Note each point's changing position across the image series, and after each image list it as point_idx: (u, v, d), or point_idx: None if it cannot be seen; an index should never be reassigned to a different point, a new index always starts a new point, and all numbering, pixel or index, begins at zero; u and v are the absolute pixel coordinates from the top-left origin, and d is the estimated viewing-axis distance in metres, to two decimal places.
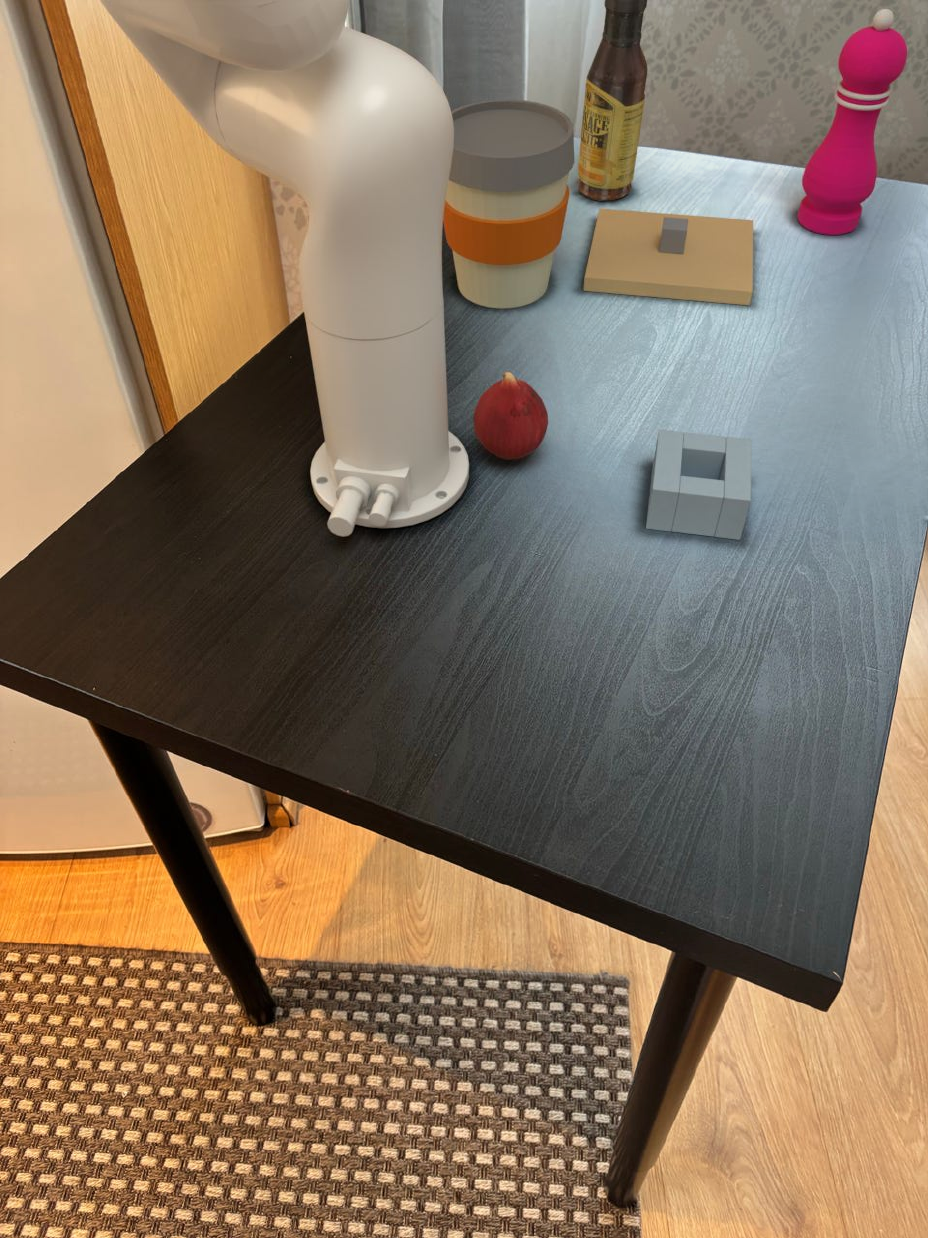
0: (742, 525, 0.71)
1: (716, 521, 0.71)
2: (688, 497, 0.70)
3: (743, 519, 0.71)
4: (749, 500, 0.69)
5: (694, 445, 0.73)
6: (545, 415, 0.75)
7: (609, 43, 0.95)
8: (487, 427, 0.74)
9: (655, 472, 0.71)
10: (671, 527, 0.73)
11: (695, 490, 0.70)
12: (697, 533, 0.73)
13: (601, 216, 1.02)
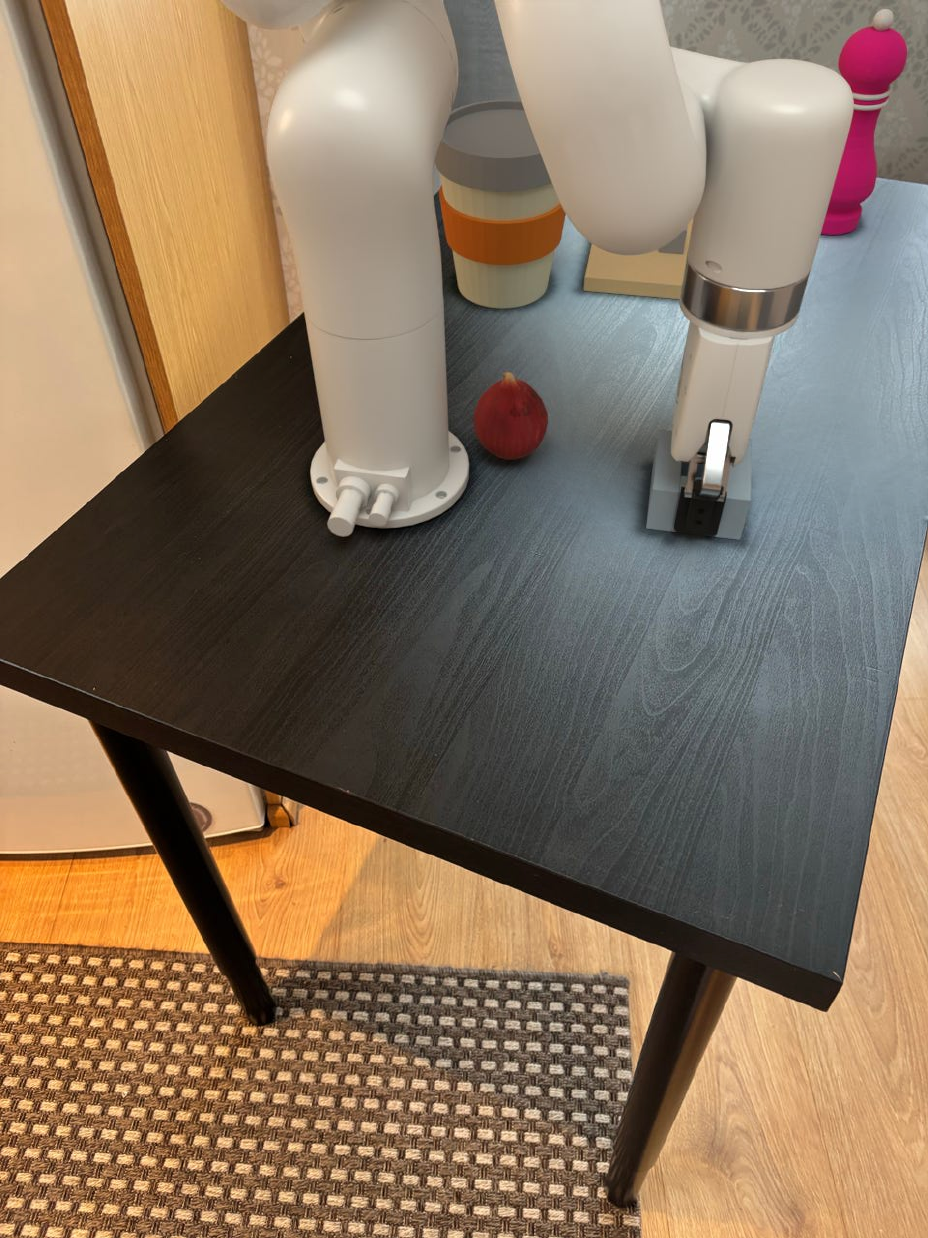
0: (742, 525, 0.71)
1: None
2: None
3: (743, 519, 0.71)
4: (749, 500, 0.69)
5: None
6: (545, 415, 0.75)
7: None
8: (487, 427, 0.74)
9: (655, 472, 0.71)
10: (672, 527, 0.73)
11: None
12: None
13: None
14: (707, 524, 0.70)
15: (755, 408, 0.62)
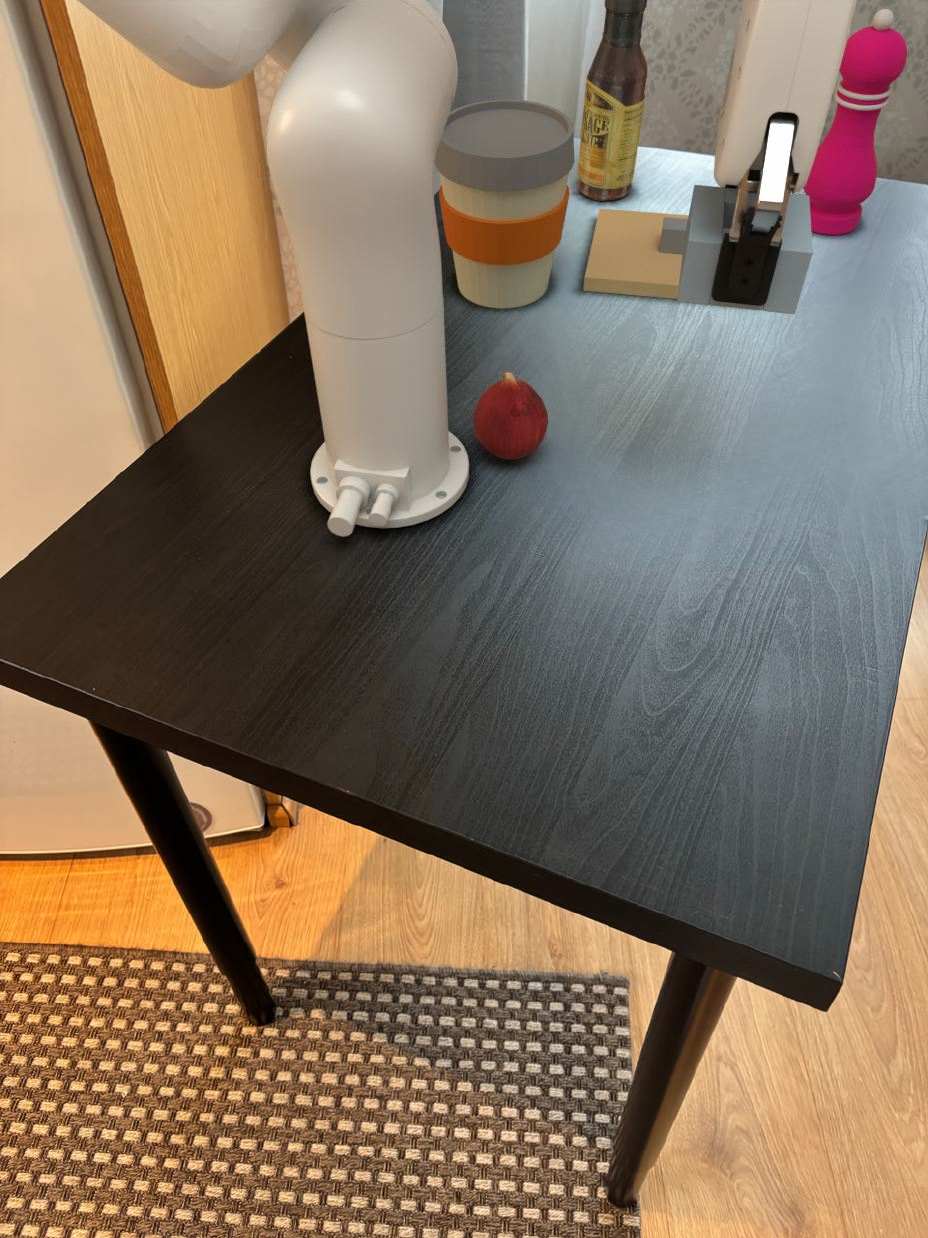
0: (799, 291, 0.57)
1: None
2: None
3: (801, 282, 0.56)
4: (810, 252, 0.55)
5: None
6: (545, 415, 0.75)
7: (609, 43, 0.95)
8: (487, 427, 0.74)
9: (691, 224, 0.57)
10: (709, 299, 0.58)
11: None
12: (740, 307, 0.58)
13: (601, 216, 1.02)
14: (755, 283, 0.56)
15: (829, 95, 0.48)
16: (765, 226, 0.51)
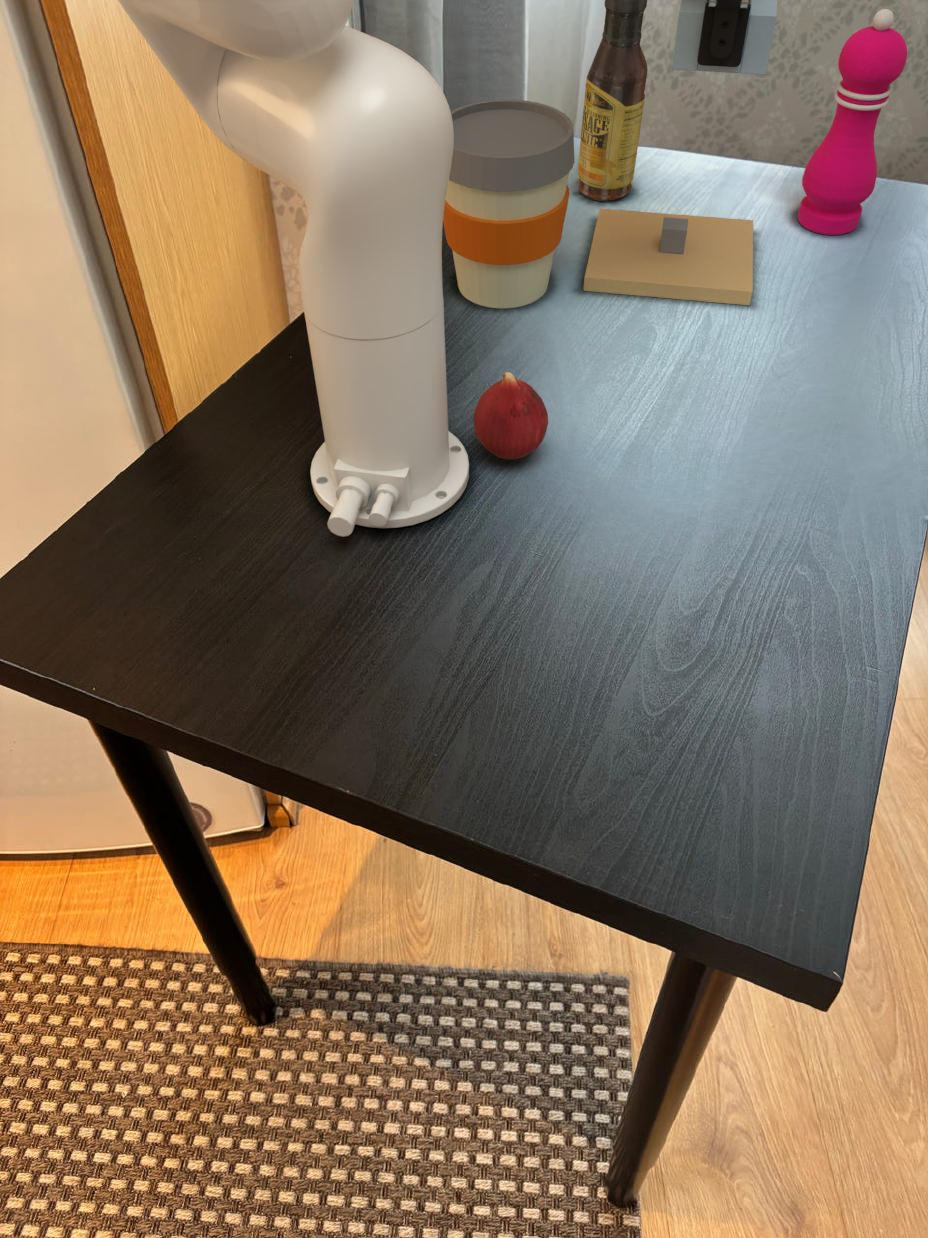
0: (767, 53, 0.72)
1: None
2: None
3: (769, 44, 0.71)
4: (775, 16, 0.70)
5: None
6: (545, 415, 0.75)
7: (609, 43, 0.95)
8: (487, 427, 0.74)
9: (681, 2, 0.72)
10: (697, 65, 0.73)
11: None
12: (722, 71, 0.73)
13: (601, 216, 1.02)
14: (731, 44, 0.71)
15: None
16: None
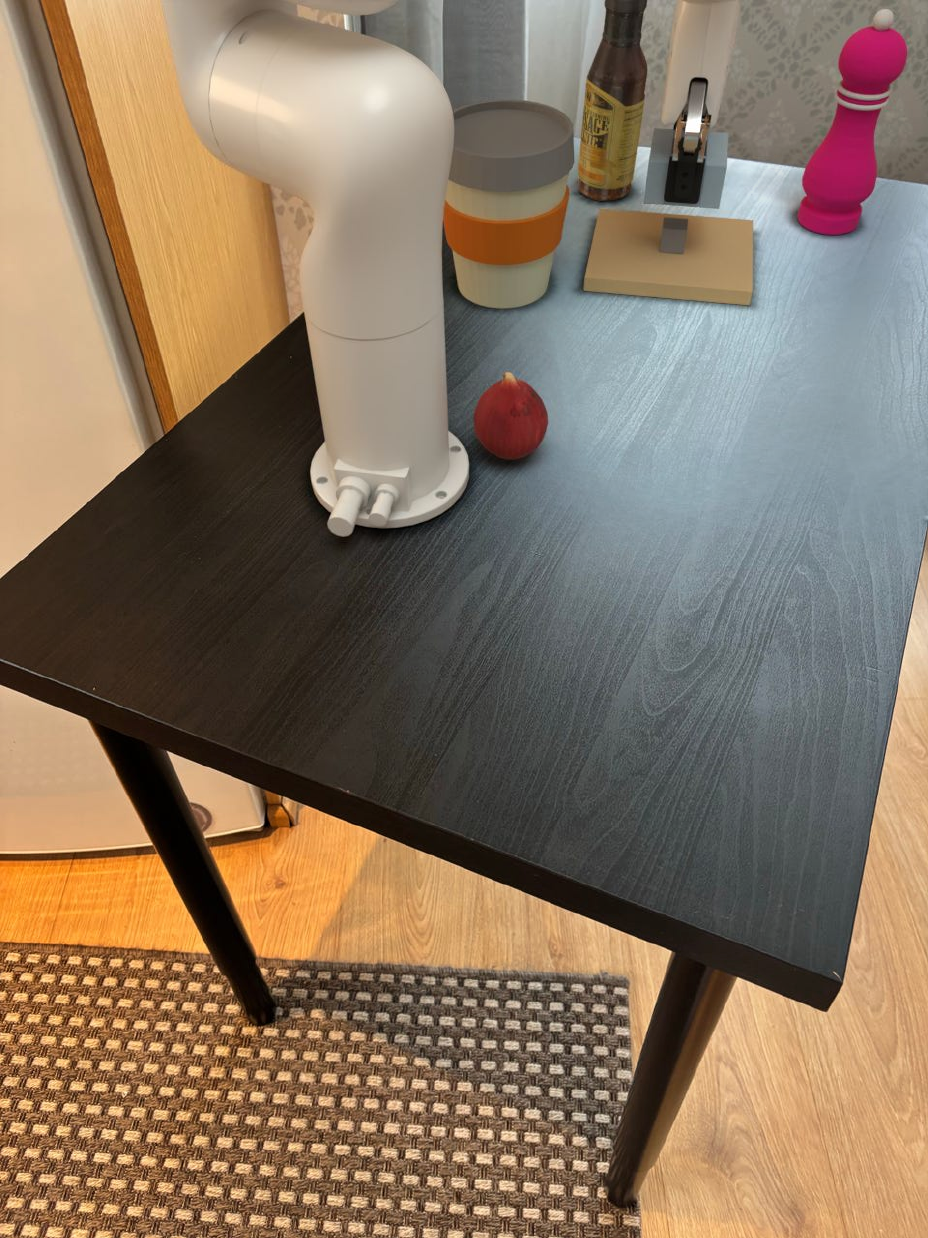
0: (720, 193, 0.89)
1: None
2: None
3: (721, 186, 0.89)
4: (725, 166, 0.87)
5: (682, 136, 0.91)
6: (545, 415, 0.75)
7: (609, 43, 0.95)
8: (487, 427, 0.74)
9: (651, 151, 0.89)
10: (664, 200, 0.91)
11: None
12: (684, 205, 0.91)
13: (601, 216, 1.02)
14: (690, 188, 0.88)
15: (725, 66, 0.80)
16: (691, 148, 0.83)
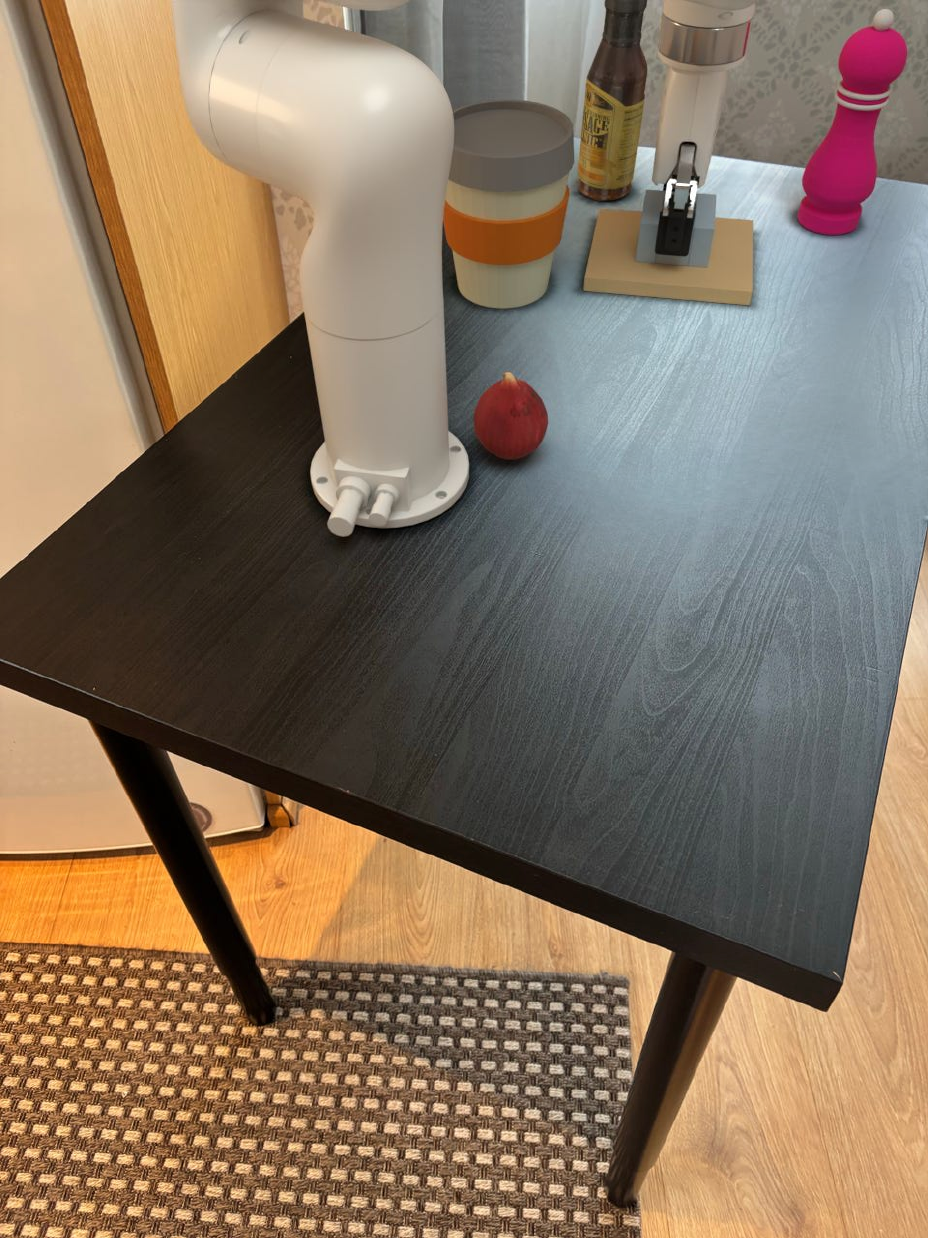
0: (708, 253, 0.93)
1: (689, 250, 0.94)
2: None
3: (709, 247, 0.93)
4: (713, 228, 0.92)
5: None
6: (545, 415, 0.75)
7: (609, 43, 0.95)
8: (487, 427, 0.74)
9: (642, 213, 0.94)
10: (655, 259, 0.95)
11: None
12: (674, 264, 0.95)
13: (601, 216, 1.02)
14: (680, 242, 0.90)
15: (713, 131, 0.84)
16: (681, 203, 0.86)
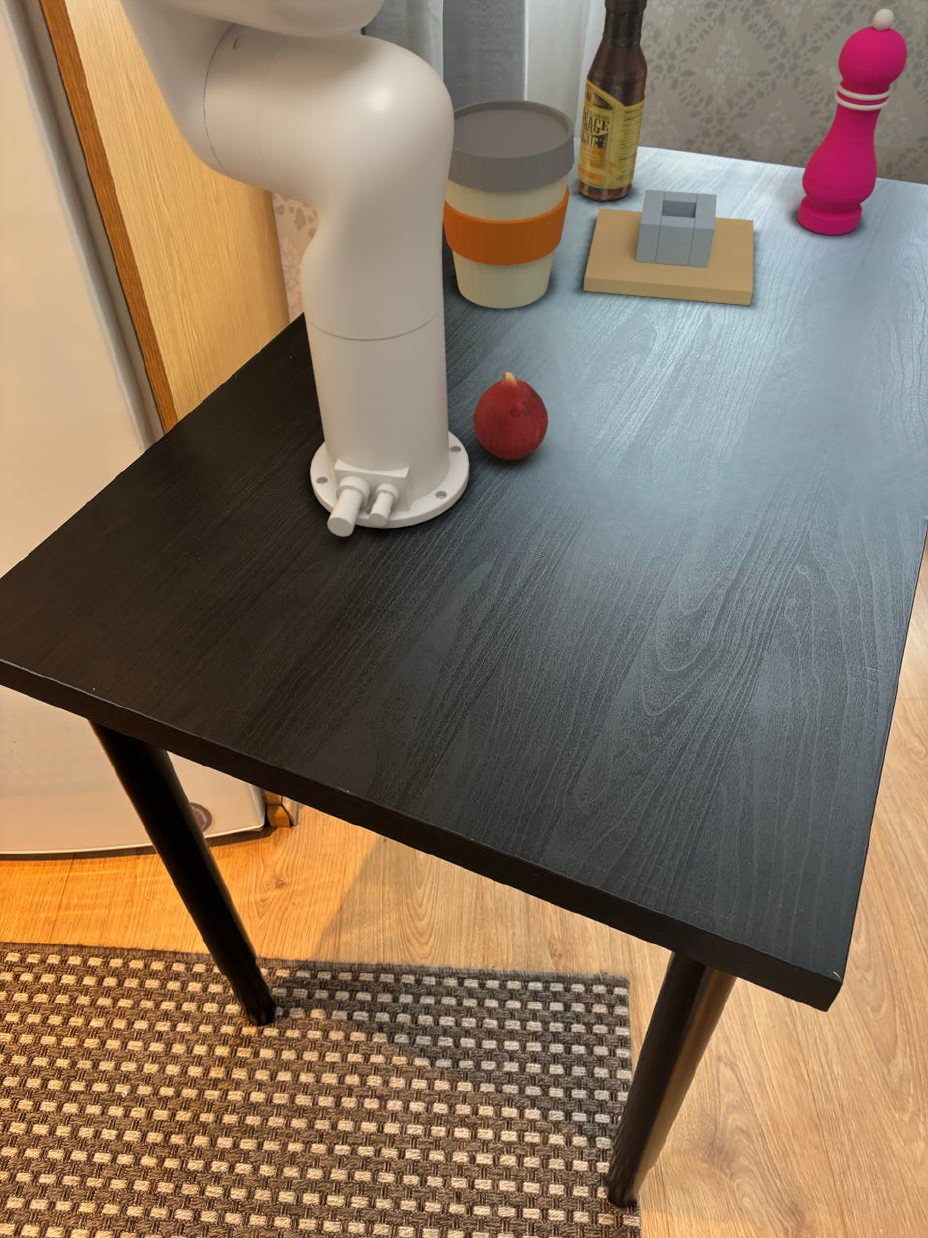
0: (708, 253, 0.93)
1: (689, 250, 0.94)
2: (667, 228, 0.92)
3: (709, 247, 0.93)
4: (713, 228, 0.92)
5: (672, 197, 0.96)
6: (545, 415, 0.75)
7: (609, 43, 0.95)
8: (487, 427, 0.74)
9: (642, 213, 0.94)
10: (655, 259, 0.95)
11: (672, 223, 0.92)
12: (674, 264, 0.95)
13: (601, 216, 1.02)
14: None
15: None
16: None
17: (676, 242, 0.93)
